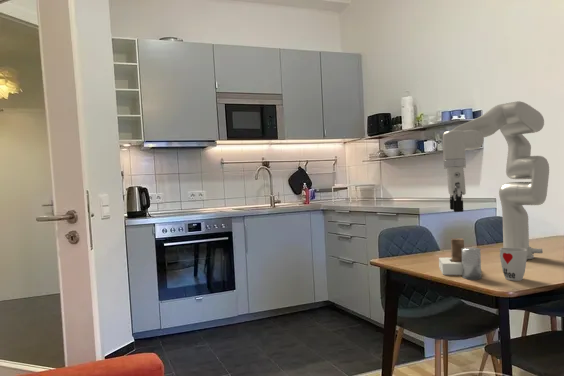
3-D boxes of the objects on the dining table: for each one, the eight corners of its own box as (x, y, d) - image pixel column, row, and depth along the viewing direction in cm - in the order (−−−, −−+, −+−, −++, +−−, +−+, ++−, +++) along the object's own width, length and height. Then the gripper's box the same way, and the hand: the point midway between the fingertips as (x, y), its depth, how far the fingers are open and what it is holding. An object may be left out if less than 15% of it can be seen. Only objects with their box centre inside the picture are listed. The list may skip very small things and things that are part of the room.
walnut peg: (463, 270, 162) (462, 238, 161) (464, 272, 158) (463, 239, 158) (451, 270, 163) (450, 238, 163) (453, 272, 159) (452, 239, 159)
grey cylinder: (479, 275, 152) (478, 247, 152) (483, 279, 146) (482, 250, 146) (461, 275, 153) (460, 247, 153) (464, 279, 148) (463, 250, 147)
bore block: (472, 268, 165) (472, 257, 165) (478, 275, 153) (478, 263, 153) (439, 267, 168) (438, 257, 167) (442, 274, 156) (442, 263, 156)
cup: (495, 276, 149) (494, 248, 149) (517, 275, 150) (516, 246, 150) (509, 282, 141) (508, 251, 141) (533, 280, 142) (532, 250, 142)
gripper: (469, 163, 150) (471, 212, 151) (461, 164, 167) (463, 208, 167) (446, 164, 152) (448, 213, 153) (441, 165, 169) (443, 209, 169)
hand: (456, 210), depth 160 cm, fingers open, 9 cm apart
